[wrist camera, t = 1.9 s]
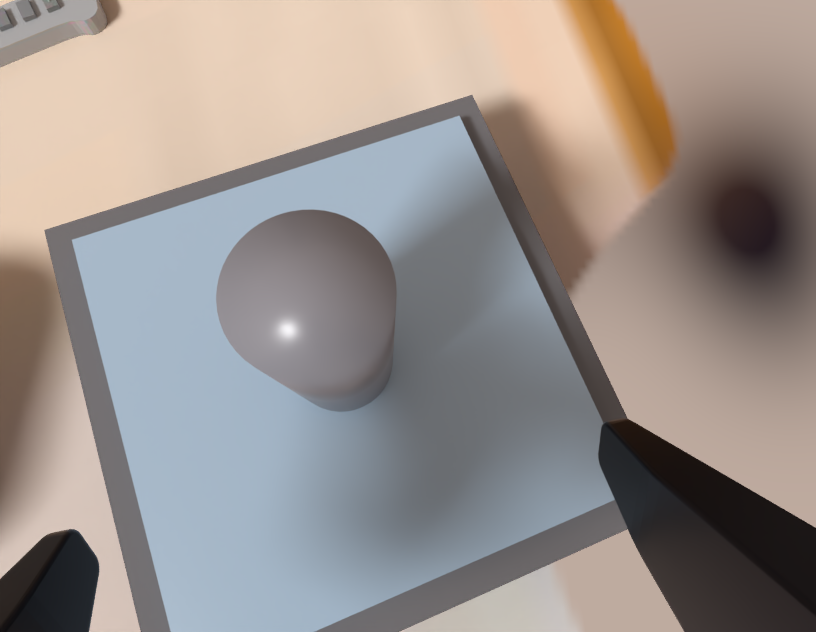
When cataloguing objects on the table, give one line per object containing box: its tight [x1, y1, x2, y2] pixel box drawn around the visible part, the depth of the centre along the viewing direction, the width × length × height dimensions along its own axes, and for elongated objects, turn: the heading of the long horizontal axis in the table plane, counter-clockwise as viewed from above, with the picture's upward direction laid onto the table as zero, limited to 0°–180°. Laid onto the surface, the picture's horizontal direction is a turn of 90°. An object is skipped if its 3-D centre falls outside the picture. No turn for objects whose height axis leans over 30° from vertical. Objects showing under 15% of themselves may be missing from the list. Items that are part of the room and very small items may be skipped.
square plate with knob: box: [72, 116, 615, 632], centre depth 12 cm, size 13×13×8 cm
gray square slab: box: [45, 95, 628, 632], centre depth 18 cm, size 15×15×4 cm
